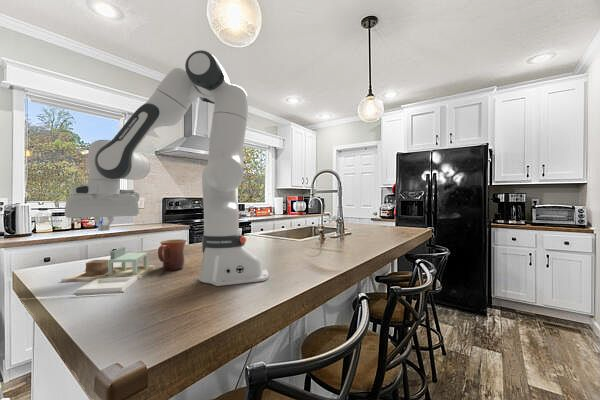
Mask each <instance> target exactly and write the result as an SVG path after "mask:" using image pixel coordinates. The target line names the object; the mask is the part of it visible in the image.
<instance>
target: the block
mask: <svg viewBox="0 0 600 400" xmlns="http://www.w3.org/2000/svg"><path fill="white" fill-rule="evenodd" d="M108 260H109V259H94V260H93V259H91V260H89V261H87V262H85V269H86V276H98V275H105V274H107V273H108Z"/></svg>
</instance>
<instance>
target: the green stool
mask: <svg viewBox="0 0 600 400" xmlns="http://www.w3.org/2000/svg"><path fill="white" fill-rule="evenodd" d="M148 257H149V256H148V252H130V253H127V252H126V247H123V246H122V247H119V248H117V249H114V250H111V251H110V259H107V260H108V276H113V267H114V263H121V267H122V270H126V266H127V263H132V266H133V275H137V266H138V262H139V260H142V259H143V266H144V269H148V266H149V265H148V260H149V259H148Z"/></svg>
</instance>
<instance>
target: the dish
mask: <svg viewBox="0 0 600 400" xmlns="http://www.w3.org/2000/svg"><path fill="white" fill-rule="evenodd" d="M137 280H138V278H137V276H135V277H114V278H97V279H95V280H94V281H89V282H88V283H86V284H84V285H83V286H81V287H78V288H77V289H76V292H75V293H76V294H75V296H77V297H78V296H80V297H81V296H92V295H93V296H95V295H113V294H123V293H124V290H126V289H127V288H128V287H129V286H131V285H132V284H134V283H135V282H136V281H137Z"/></svg>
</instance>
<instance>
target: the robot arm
mask: <svg viewBox="0 0 600 400" xmlns="http://www.w3.org/2000/svg"><path fill="white" fill-rule="evenodd" d="M184 66H185V67H184V68H182V67H175V68H173V69H171V70H170V71H169V72H168V74H166V75H165V76H164V78H163V79H162V80H161V82H160V83H159V84H158V86H157V87H156V88H155V90H154V91H153V93H152V95H151V96H150V98H148V100H146V102H145V103H142V105H141V106H140V107H138V108H137V110H135V111H134V112H133V114H132V115H131V116H130V117H129V118H128V120H127V121H126V122H125V123H124V125H123V126H122V128H120V130H119V131H118V132H117V134H115V136H114V137H113V138H112V139H99V140H95V141H93V142H91V143H90V145H89V148H88V152H87V169H88V176H87V183H86V184H79V185H77V186H72V187H70V189H69V194H70V195H69V196H68V197H67V199H66V202H65V207H64V217H66V218H67V219H74V218H75V219H79V218H83V219H84V218H94V219H93V221H94V222H95V223H96V225H97V226H98V228H97V229H98V230H97V231H98V232H104V231H110V226H111V224H112V223H113V221H114V217H115V218H116V217H137V216H138V215H139V213H140V210H139V201H140V193H139V192H138V191H135V190H134V189H120V188H121V187H120V186H121V185H120V184H121V181H120V180H121V179H122V180H127V181H128V180H132V181H138V180H142V179H144V178H145V177H147V176H148V174H149V172H150V169H151V164H150V163H151V162H150V160H149V159H148V157H147V156H145V155H144V154H142V153H140V152H137V151H136V150H137V149H138V147H139V146H140V144H141V143H142V142H143V140H144V139H145V138H146V137H147V135H148V134H149V133H150V132H151V131H153V130H154V129H157V128H160V127H161V128H163V127H171V126H175V125H176V124H178V123H179V122H180V121H181V120H182V119H183V117H184V116H185V114H186V113H187V111H188V110H189V108H190V107H191V105H192V103H193V102H194V101H195V100H196V99H198V98H200V100H201V101H202V102H206V103H209V104H213V105H214V106H213V114H212V117H211V118H212V119H211V125H210V126H211V127H210V132H209V144H208V145H209V146H208V158H207V164H206V166H205V167H204V168H203V170H202V173H201V183H202V187H201V188H202V202H203V203H202V204H203V235H202V239H201V250H202V260H201V261H202V262H201V267H200V272H199V275H198V281H199V282H202V283H205V284H211V285H213V286H217V287H218V286H219V287H221V286H228V285H238V284H239V285H240V284H246V283H257V282H264V281H266V280H267V279H268V278H269V272H268V270H267V269H266V268H263V264H262V263H263V262H262V260H261V257H260V256H259V255H258V254H257V253H256V252H254V251H253V250H252V249H250V248H249V247H248V246H246V242H247V238H246V237H245V236H244V235H243V234H241V233H239V232H240V230H239V228H240V227H239V225H240V222H239V220H240V219H239V218H240V217H239V215H240V212H239V207H238V206H239V205H238V201H237V194H236V189H238V188H239V187H240V185H241V183H242V182H243V180H244V177H245V169H244V165H245V164H244V162H245V161H244V160H245V159H244V157H245V156H244V153H245V152H244V149H245V148H244V145H245V139H246V138H245V137H246V131H247V130H246V129H247V122H248V115H249V114H248V113H249V103H248V102H249V101H248V100H249V99H248V94H247V92H246V91H245V89H244V88H243V87H242V86H239V85H237V84H233V83H232V82H231V80H230V77H229V76H228V74H227V72H226V70H225V68H224V67H223V66H222V65H221V63H220V62H219V60H218V59H217V57H215V56H214V55H213V54H212V53H211V52H208V51H207V50H203V49H202V50H201V49H200V50H199V49H198V50H196V51H193V52H192V53H190V54H189V55H188V57H186V60H185V65H184ZM101 218H107V220H108V222H107V223H106V224H101V223H100V220H101Z"/></svg>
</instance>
